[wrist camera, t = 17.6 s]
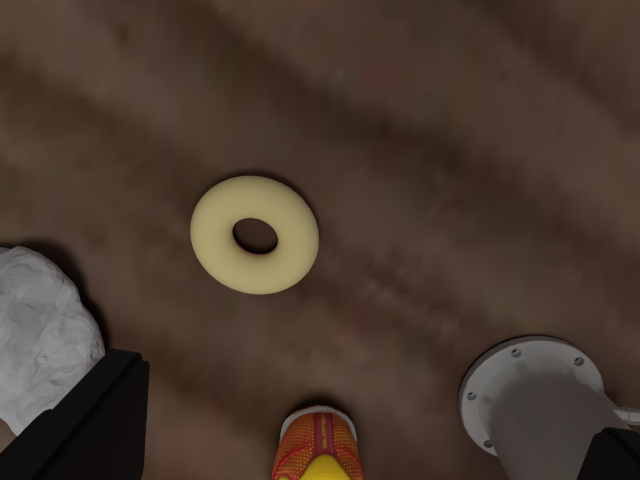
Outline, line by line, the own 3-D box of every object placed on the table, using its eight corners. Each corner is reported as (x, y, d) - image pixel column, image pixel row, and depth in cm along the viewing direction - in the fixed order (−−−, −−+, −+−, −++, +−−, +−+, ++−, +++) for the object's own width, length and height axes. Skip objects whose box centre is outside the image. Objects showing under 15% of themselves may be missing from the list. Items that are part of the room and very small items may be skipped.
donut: (288, 286, 40) (336, 199, 37) (288, 318, 36) (342, 224, 33) (180, 246, 38) (219, 148, 34) (167, 276, 34) (210, 169, 30)
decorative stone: (-94, 282, 35) (-134, 311, 27) (35, 222, 40) (36, 230, 31) (35, 438, 41) (35, 501, 33) (135, 371, 45) (158, 411, 37)
